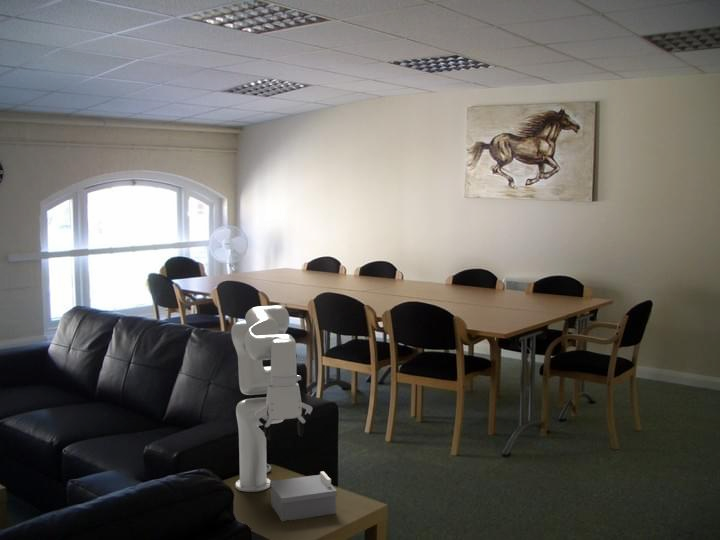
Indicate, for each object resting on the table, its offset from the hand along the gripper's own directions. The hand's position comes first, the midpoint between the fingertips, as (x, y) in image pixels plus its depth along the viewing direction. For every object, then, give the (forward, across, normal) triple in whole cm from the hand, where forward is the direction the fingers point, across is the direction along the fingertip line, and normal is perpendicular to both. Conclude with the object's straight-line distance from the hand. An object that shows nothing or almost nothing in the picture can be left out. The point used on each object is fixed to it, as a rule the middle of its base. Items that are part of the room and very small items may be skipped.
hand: (284, 437), depth 223 cm
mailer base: (+31, -11, -19) cm, 38 cm away
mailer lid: (+25, -11, -19) cm, 33 cm away
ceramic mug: (+32, -4, -59) cm, 67 cm away
